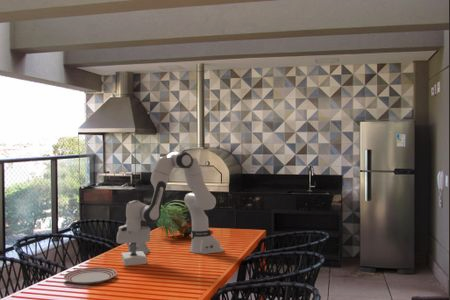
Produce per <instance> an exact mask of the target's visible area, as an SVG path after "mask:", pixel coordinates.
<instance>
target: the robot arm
mask: <svg viewBox="0 0 450 300" xmlns="http://www.w3.org/2000/svg"><path fill="white" fill-rule="evenodd" d="M173 169H182V170H183V172H184V176H185V181H186V184H187V187H188V189H190V191H192V192H188V193H186V194H185V196H184V198H183V201H184V202H183V203H184V205H186V206H187V209H188V210H189V211H188V212H189V215H190V219H191V225H192V230H191V235H190V238H191V243H190V248H189V252H190V253H192V254H193V253H194V254H201V255H207V254H214V253H221V252H225V250H224V248H223V247H221V244H220V241H219V240H218V239H217V238H216V237H214V236H213V234H214V231H213V230H210V229H209V217H208V215H207V214H206V213H205V211H208V210H213V209H214V208H215V206H216V204H217V199H216V197H215V196H214V194H212V193H211V192H210V190H209V189H208V187H207V185H206V183H205V179H204V176H203V172H202V168H201V165H200V163H199V161H198V159H197V157H194V156H192V155H191V154H190V153H189V152H187V151H182V150H172V151H171V150H170V151H168V152H167V153H166V155H164V156H160V157H158V160H157V162H155V165H154V167H153V170H152V172H151V176H150V184H151V185H152V186H153V191H154V192H153V195H152V200H151V201H150V202H151V203H150V205H149V204H145V203H143V202H141V201H140V200H138V199H135V200H130V201H129V202H127V204H126V207H125V218H126V222H125V224H123V225H120V226H118V231H117V234H116V243H117V244H120V245H121V244H126V245H127V248H128V247H129V244H131V243H136V242H138V246H136V250H139V246H140V242H146V243H148V242H150V241H151V234H150V233H151V227H150V226H141V225H142V223H141V222H142V221H145V222H146V223H148V224H150V225H151V224H152V225H153V224H157V221H158V220H159V219H160V217H161V209H162V207H161V205H162V206H163V201H164V197H165V193H166V189H167V186H168V183H169V182H168V181H169V179H170V176H171V173H172V171H173ZM161 218H162V217H161ZM160 220H161V219H160ZM129 250H131V247H129ZM129 250H128V251H129Z"/></svg>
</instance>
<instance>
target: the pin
mask: <svg viewBox="0 0 450 300" xmlns="http://www.w3.org/2000/svg"><path fill="white" fill-rule="evenodd" d="M130 244H131V256H136V243H130Z"/></svg>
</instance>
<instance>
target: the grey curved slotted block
mask: <svg viewBox="0 0 450 300" xmlns="http://www.w3.org/2000/svg"><path fill="white" fill-rule="evenodd" d="M136 246H138V242H136ZM129 247H131V243H129ZM129 247H128V246H127V250H128V252H131V250H129ZM137 251H143V253H144V254H145V255H146V254H149V253H151V249H150V248H149V247H148V245H147V242H140V246H139V250H136V252H137Z"/></svg>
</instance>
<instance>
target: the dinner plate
mask: <svg viewBox="0 0 450 300" xmlns="http://www.w3.org/2000/svg"><path fill="white" fill-rule="evenodd" d="M117 274H118V271H117V270H116V269H114V268H111V267H101V266H96V267H85V268H79V269H74V270H71V271H68V272H67V273H65V274H64V275H63V279H64V280H65V281H67V282H70V283H73V284H77V285H94V284H99V283H104V282H106V281H108V280H111V279H112V278H114V277H115V276H117Z"/></svg>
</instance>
